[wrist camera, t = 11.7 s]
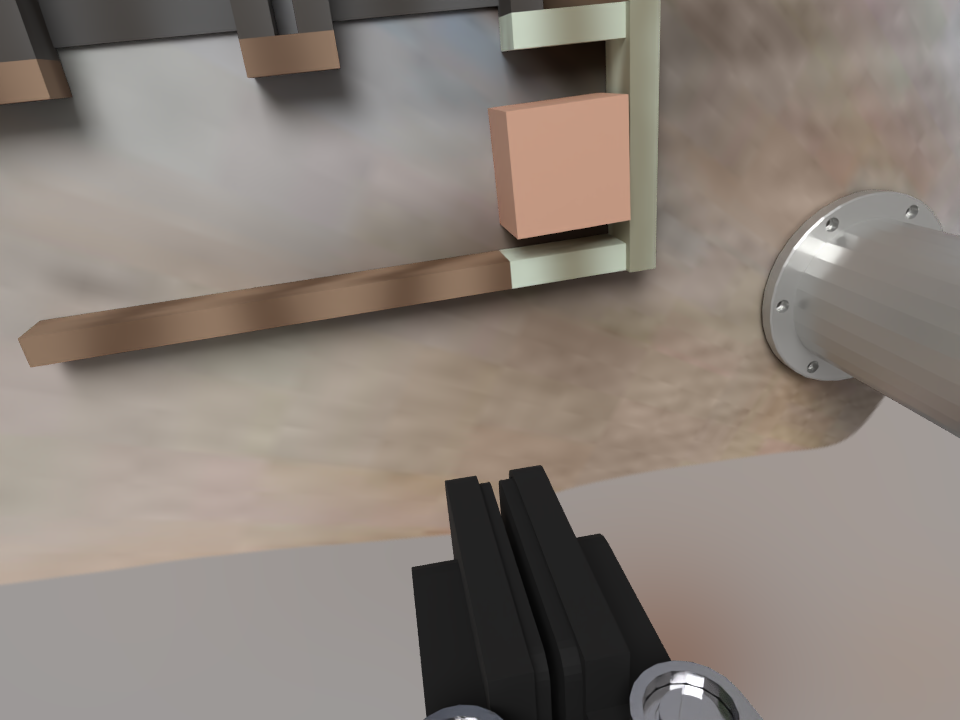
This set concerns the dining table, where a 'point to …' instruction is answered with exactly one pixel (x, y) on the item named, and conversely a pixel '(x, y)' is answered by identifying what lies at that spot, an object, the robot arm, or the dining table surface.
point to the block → (562, 163)
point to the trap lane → (317, 3)
